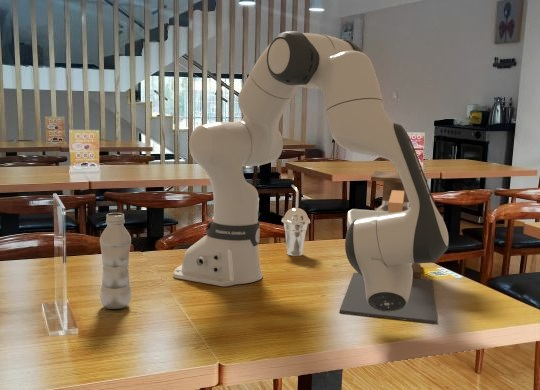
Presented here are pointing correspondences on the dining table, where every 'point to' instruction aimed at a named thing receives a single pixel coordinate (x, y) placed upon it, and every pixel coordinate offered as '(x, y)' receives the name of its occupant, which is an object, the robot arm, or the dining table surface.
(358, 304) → the rubber mat
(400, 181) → the walnut stand
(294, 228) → the cup with straw
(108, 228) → the plastic bottle
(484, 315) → the dining table surface
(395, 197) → the orange square bar
